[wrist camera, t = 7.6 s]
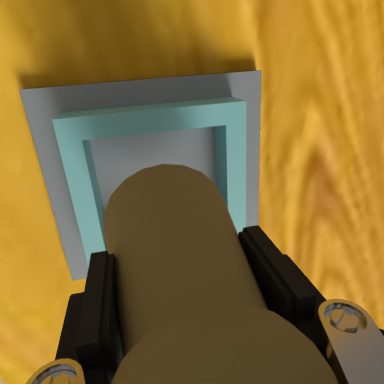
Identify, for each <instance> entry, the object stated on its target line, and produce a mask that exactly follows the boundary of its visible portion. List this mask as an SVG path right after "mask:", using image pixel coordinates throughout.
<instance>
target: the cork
mask: <svg viewBox="0 0 384 384" xmlns="http://www.w3.org/2000/svg"><path fill="white" fill-rule="evenodd" d="M104 237H105V243H106V250H107V251H108V254H114V256H115V284H116V298H117V311H118V325H119V333H120V339H121V346H122V352H123V359H122V361H121V363H120V365H119V367H118V369H117V371H116V373H115V375H114V377H113V379H112V381H111V383H110V384H339V382H338V380H337V378H336V376H335V374H334V372H333V370H332V369H331V367H330V365H329V364H328V363H327V361H326V360H325V358H324V357H323V356H322V354H321V353H320V351H319V350H318V348H317V347H316V346H315V344H314V343H313V342H312V341H311V340H310V339H309V338H307V337H306V336H305V335H304V334H303V333H302V332H301V331H300V330H298V329H297V328H296V327H295V326H294V325H292V324H291V323H290V322H288V321H287V320H285V319H284V318H282V317H281V316H279V315H278V314H276V313H275V312H273V311H269V309H268V307H267V304H266V302H265V300H264V297H263V295H262V292H261V290H260V287H259V285H258V282H257V280H256V277H255V275H254V272H253V270H252V268H251V265H250V263H249V261H248V259H247V256H246V254H245V252H244V250H243V247H242V245H241V243H240V241H239V238H238V233H237V231H236V228H235V226H234V223H233V221H232V218H231V216H230V213H229V211H228V208H227V206H226V203H225V201H224V199H223V197H222V195H221V193H220V191H219V190H218V188H217V186H216V184H215V183H214V182H212V181H211V180H210V179H209V178H208V177H207V176H205V175H204V174H203V173H202V172H200V171H197V170H195V169H192V168H190V167H187V166H185V165H174V164H160V165H156V166H152V167H148V168H144V169H141V170H140V171H138V172H136V173H135V174H133V175H131V176H130V177H128V178H126V179H125V180H124V181H123V182H122V183H121V184H120V185H119V187H118V188H117V189H116V190H115V191H114V192H113V193H112V195H111V196H110V199H109V201H108V204H107V206H106V209H105V211H104Z"/></svg>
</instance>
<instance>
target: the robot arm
mask: <svg viewBox="0 0 384 384" xmlns="http://www.w3.org/2000/svg"><path fill="white" fill-rule="evenodd" d="M238 238H239V241H240V243H241V245H242V247H243V250H244V252H245V254H246V256H247V259H248V261H249V263H250V265H251V268H252V270H253V272H254V275H255V277H256V280H257V282H258V285H259V287H260V290H261V292H262V295H263V297H264V300H265V302H266V304H267V307H268V309H269V311H273V312H275V313H276V314H278V315H279V316H281V317H282V318H284V319H285V320H287V321H288V322H290V323H291V324H292V325H294V326H295V327H296V328H297V329H298V330H300V331H301V332H302V333H303V334H304V335H305V336H306V337H307V338H309V339H310V340H311V341H312V342H313V343H314V344H315V346H316V347H317V348H318V350H319V351H320V353H321V354H322V356H323V357H324V358H325V360H326V361H327V363H328V364H329V365H330V367H331V369H332V370H333V372H334V374H335V376H336V378H337V380H338V382H339V384H384V330H382V329H379V328H378V327H377V325H376V324H375V322H374V321H373V319H372V317H371V316H370V315H369V314H368V313H367V311H366V310H364V309H363V308H362V307H360V306H359V305H357V304H355V303H353V302H350V301H347V300H343V299H331V300H326V299H325V298H324V297H323V296H322V294H321V293H320V292H319V291H318V290H317V289H316V287H315V286H314V285H313V284H312V283H311V282H310V281H309V279H308V278H307V277H306V276H305V275H304V274H303V272H302V271H301V270H300V269H299V268H298V267H297V265H296V264H295V263H294V262H293V261H292V260H291V259H290V257H288V256H287V255H285V254H284V255H283V254H282V253H281V252H280V251H279V249H278V248H277V247H276V246H275V245H274V243H273V242H272V241H271V240H270V239H269V238H268V236H267V235H266V234H265V233H264V232H263V230H262V229H261V228H260V227H259V226H258V225H255V226H249V227H244V228H243V230H242V232H239V233H238ZM122 359H123V352H122V346H121V339H120V333H119V325H118V311H117V298H116V284H115V256H114V254H108V251H101V252H95V253H91V256H90V262H89V268H88V273H87V279H86V285H85V291H84V292H82V293H76V294H72V295H71V296H70V298H69V302H68V306H67V310H66V315H65V319H64V323H63V328H62V332H61V336H60V341H59V345H58V349H57V353H56V358H55V360H54V361H51V362H49V363H47V364H46V365H44V366H42V367H41V368H39V369H38V370H37V371H36V372H35V373H34V374H33V375H32V376H31V377H30V378H29V379H28V381H27V382H26V384H110V383H111V381H112V379H113V377H114V375H115V373H116V371H117V369H118V367H119V365H120V363H121V361H122Z"/></svg>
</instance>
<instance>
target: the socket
mask: <svg viewBox="0 0 384 384" xmlns="http://www.w3.org/2000/svg"><path fill="white" fill-rule="evenodd" d="M20 94H21V98H22V101H23V105H24V108H25V112H26V116H27V119H28V123H29V126H30V130H31V134H32V137H33V141H34V144H35V148H36V151H37V155H38V159H39V162H40V166H41V169H42V173H43V177H44V180H45V184H46V187H47V191H48V195H49V198H50V202H51V205H52V209H53V213H54V216H55V220H56V223H57V227H58V231H59V234H60V238H61V241H62V245H63V249H64V252H65V256H66V259H67V263H68V267H69V270H70V274H71V277H72V281H73V280H79V279H85V278H87V273H88V268H89V262H90V256H91V253H95V252H101V251H107V250H106V243H105V237H104V211H105V209H106V206H107V204H108V201H109V199H110V196H111V195H112V193H113V192H114V191H115V190H116V189H117V188H118V187H119V185H120V184H121V183H122V182H123V181H124V180H125V179H126V178H128V177H130V176H131V175H133V174H135V173H136V172H138V171H140V170H141V169H144V168H148V167H152V166H156V165H160V164H174V165H185V166H187V167H190V168H192V169H195V170H197V171H200V172H202V173H203V174H204V175H205V176H207V177H208V178H209V179H210V180H211V181H212V182H214V183H215V184H216V186H217V188H218V190H219V191H220V193H221V195H222V197H223V199H224V201H225V203H226V206H227V208H228V211H229V213H230V216H231V218H232V221H233V223H234V226H235V228H236V231H237V233H239V232H242V230H243V228H244V227H249V226H255V225H258V198H259V153H260V108H261V70H254V71H241V72H229V73H216V74H204V75H191V76H179V77H166V78H154V79H141V80H129V81H116V82H104V83H91V84H78V85H66V86H53V87H41V88H28V89H21V90H20Z"/></svg>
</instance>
